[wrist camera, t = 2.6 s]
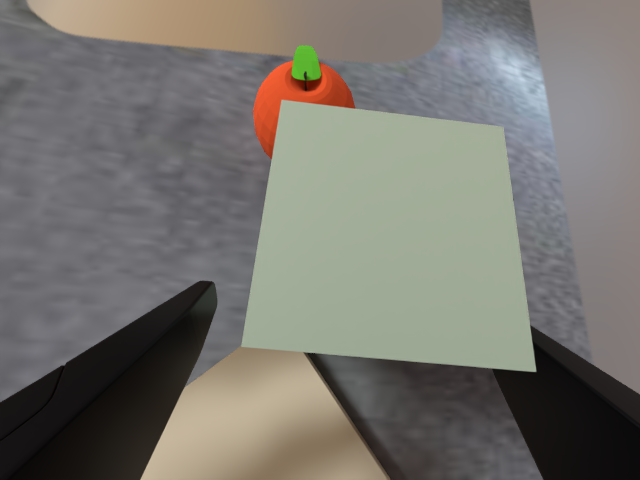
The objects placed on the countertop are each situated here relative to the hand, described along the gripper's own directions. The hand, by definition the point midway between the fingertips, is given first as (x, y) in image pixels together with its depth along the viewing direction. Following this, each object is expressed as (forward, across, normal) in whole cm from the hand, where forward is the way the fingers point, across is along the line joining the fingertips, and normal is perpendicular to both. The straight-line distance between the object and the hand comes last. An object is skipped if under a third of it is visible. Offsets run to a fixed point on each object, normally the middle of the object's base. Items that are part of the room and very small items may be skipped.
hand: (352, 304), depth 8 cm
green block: (+8, 0, +6) cm, 9 cm away
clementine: (+16, +3, -2) cm, 16 cm away
